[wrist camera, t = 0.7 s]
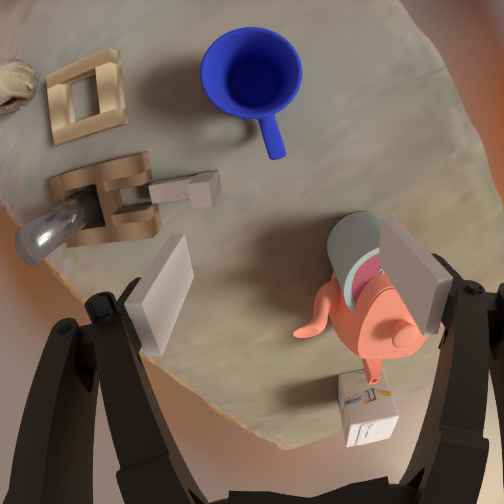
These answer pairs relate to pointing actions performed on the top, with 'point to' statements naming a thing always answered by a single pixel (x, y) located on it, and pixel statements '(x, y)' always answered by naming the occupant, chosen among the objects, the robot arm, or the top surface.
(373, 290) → the teapot
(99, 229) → the socket block
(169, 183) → the drift key
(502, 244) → the top surface
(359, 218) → the mug
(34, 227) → the peg
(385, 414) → the ink box
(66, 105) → the frame
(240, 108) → the mug
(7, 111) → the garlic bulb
